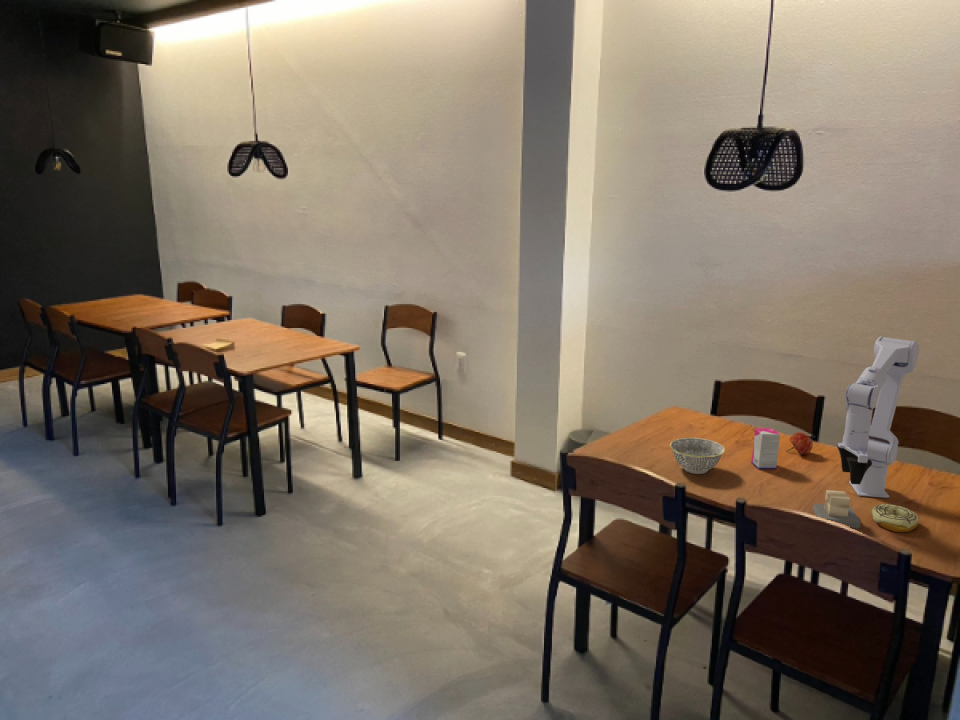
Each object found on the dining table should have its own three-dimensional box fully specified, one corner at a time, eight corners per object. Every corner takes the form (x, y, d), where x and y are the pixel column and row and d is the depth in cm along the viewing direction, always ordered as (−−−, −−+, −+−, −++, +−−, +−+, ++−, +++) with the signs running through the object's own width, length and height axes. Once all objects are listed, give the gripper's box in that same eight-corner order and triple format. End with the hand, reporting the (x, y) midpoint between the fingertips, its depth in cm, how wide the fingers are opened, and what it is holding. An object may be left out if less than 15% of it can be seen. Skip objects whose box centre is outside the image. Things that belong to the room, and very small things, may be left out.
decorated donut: (868, 527, 182) (870, 514, 181) (872, 511, 190) (874, 498, 189) (916, 538, 176) (918, 524, 175) (917, 521, 185) (920, 507, 184)
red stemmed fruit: (790, 463, 228) (820, 449, 223) (777, 443, 229) (806, 429, 224) (793, 458, 234) (821, 444, 229) (780, 438, 235) (808, 424, 231)
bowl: (662, 474, 214) (664, 450, 212) (675, 456, 228) (676, 434, 226) (717, 484, 207) (719, 460, 205) (726, 465, 221) (728, 442, 219)
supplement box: (777, 469, 217) (780, 434, 214) (757, 469, 217) (761, 434, 214) (769, 462, 223) (773, 427, 220) (750, 462, 223) (754, 427, 220)
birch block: (824, 507, 188) (826, 490, 186) (842, 509, 187) (844, 491, 186) (828, 515, 183) (831, 497, 182) (847, 516, 182) (850, 498, 181)
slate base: (813, 510, 191) (813, 503, 190) (849, 513, 189) (850, 506, 188) (821, 525, 182) (822, 518, 182) (859, 528, 180) (860, 521, 180)
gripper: (833, 419, 192) (827, 465, 195) (848, 438, 178) (842, 488, 181) (861, 420, 190) (855, 467, 194) (879, 439, 176) (872, 490, 180)
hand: (851, 477), depth 187 cm, fingers open, 7 cm apart
